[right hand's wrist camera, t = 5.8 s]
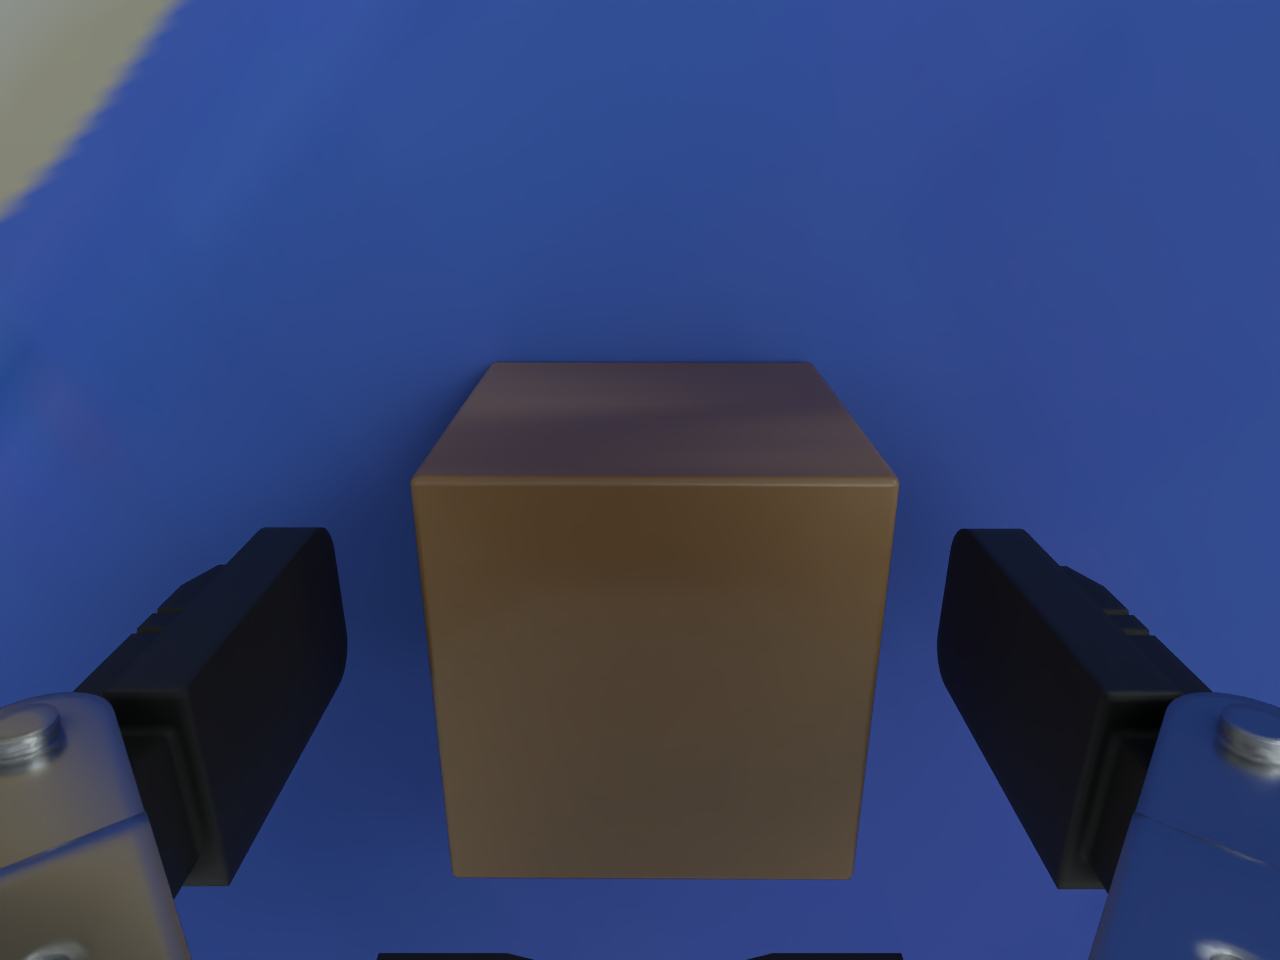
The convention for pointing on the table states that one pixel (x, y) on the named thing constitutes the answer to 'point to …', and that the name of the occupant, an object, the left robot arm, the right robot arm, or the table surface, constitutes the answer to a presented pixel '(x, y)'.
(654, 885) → the table surface
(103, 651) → the table surface
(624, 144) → the table surface
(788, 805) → the brick
